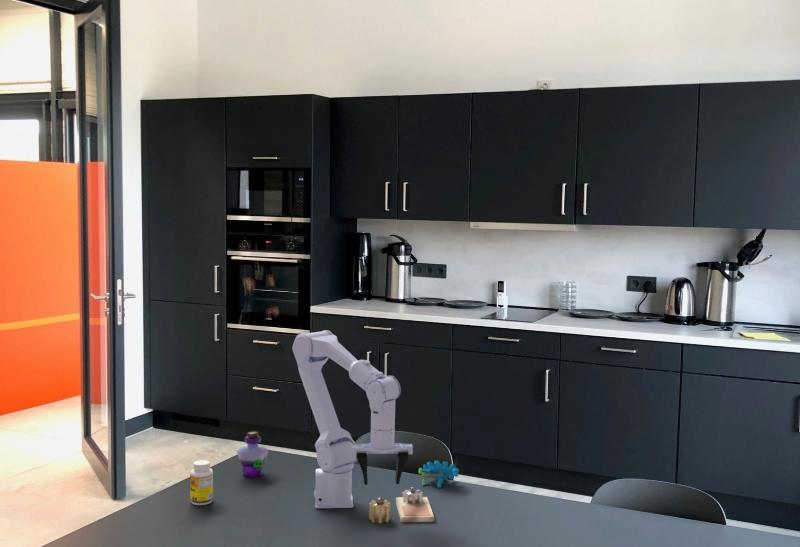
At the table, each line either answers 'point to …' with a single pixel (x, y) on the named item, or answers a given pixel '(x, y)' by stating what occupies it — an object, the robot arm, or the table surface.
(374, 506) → the planet gear
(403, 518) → the plate
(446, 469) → the toy dinosaur
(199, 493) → the supplement bottle
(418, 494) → the sun gear
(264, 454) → the potion bottle
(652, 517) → the table surface
